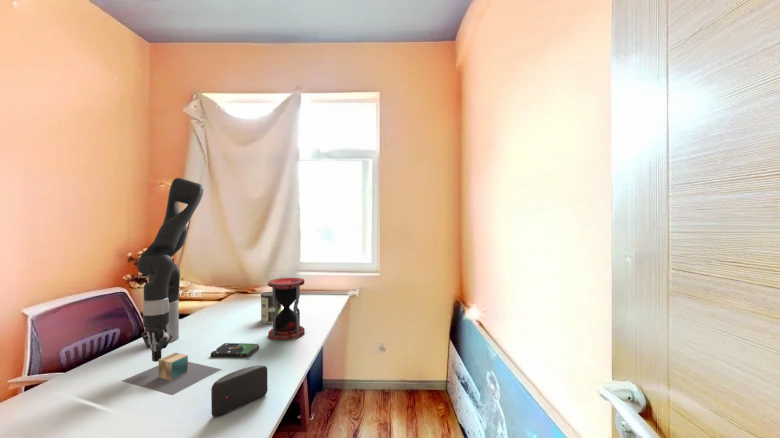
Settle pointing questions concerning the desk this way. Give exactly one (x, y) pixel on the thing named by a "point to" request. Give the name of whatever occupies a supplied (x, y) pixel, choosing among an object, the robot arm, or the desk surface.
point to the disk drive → (235, 350)
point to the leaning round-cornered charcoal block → (238, 389)
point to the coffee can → (267, 308)
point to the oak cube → (173, 366)
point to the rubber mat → (171, 386)
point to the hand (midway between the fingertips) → (156, 360)
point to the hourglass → (286, 308)
